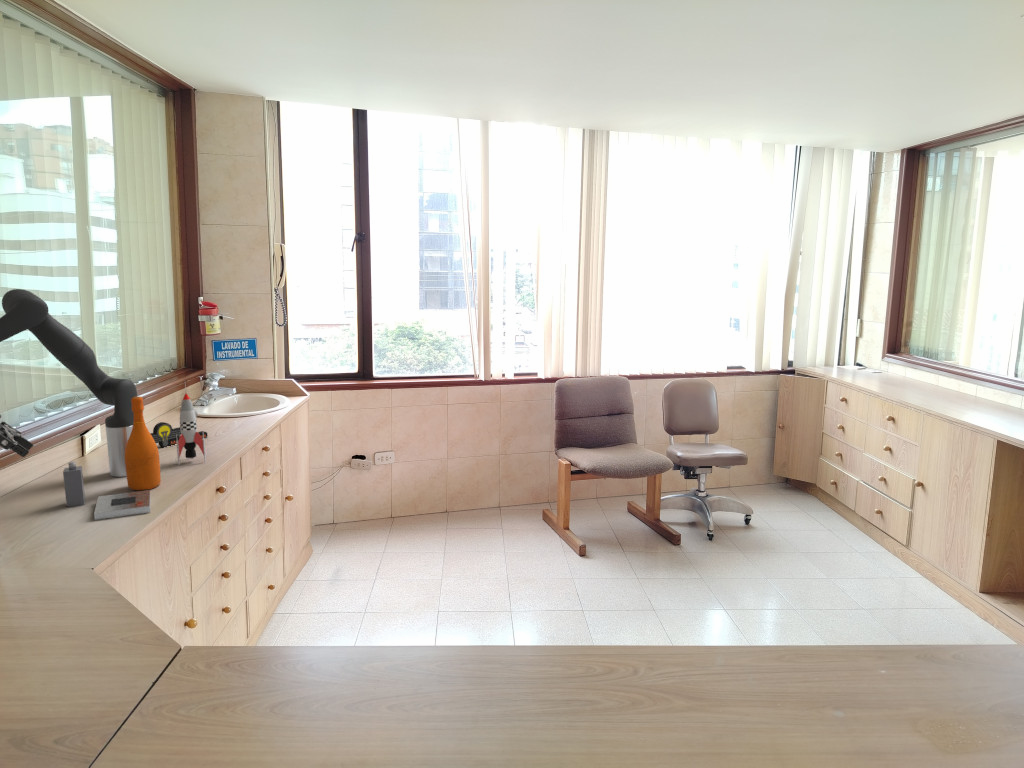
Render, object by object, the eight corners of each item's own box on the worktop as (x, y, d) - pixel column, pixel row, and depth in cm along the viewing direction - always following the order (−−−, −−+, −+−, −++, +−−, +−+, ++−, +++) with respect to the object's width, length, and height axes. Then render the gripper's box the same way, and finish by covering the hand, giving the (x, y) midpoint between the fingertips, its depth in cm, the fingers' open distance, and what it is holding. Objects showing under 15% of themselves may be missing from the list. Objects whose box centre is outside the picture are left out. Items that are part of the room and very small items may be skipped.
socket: (98, 502, 209) (98, 494, 208) (150, 496, 215) (149, 488, 215) (94, 520, 195) (93, 511, 194) (150, 512, 201) (149, 504, 201)
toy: (207, 461, 252) (202, 381, 247) (186, 467, 245) (180, 385, 240) (193, 457, 257) (187, 379, 252) (171, 463, 250) (165, 382, 245)
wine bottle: (167, 482, 228) (160, 394, 223) (149, 492, 219) (141, 400, 214) (140, 481, 229) (132, 393, 224) (120, 491, 220) (112, 399, 214)
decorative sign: (144, 452, 264) (141, 427, 262) (141, 451, 265) (138, 426, 264) (207, 438, 287) (206, 414, 285) (204, 437, 288) (202, 414, 286)
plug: (66, 507, 205) (62, 465, 203) (68, 502, 209) (64, 461, 207) (84, 504, 207) (79, 463, 205) (85, 500, 211) (81, 459, 209)
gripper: (-19, 410, 187) (35, 446, 194) (-9, 401, 199) (42, 436, 206) (-42, 431, 185) (14, 467, 192) (-30, 420, 197) (22, 455, 205)
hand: (29, 451), depth 199 cm, fingers open, 8 cm apart
